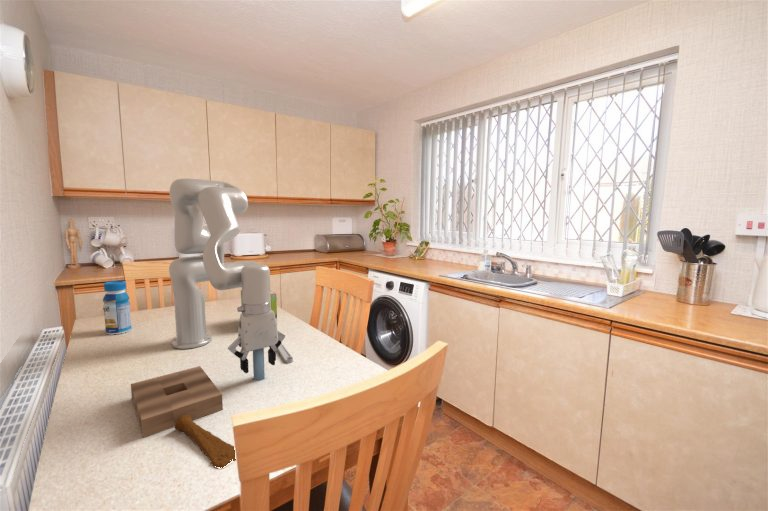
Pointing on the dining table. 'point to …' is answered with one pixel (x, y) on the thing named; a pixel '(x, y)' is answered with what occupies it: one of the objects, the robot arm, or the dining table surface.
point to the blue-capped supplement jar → (116, 308)
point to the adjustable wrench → (285, 354)
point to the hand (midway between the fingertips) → (258, 367)
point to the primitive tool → (207, 442)
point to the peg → (258, 364)
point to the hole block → (174, 399)
